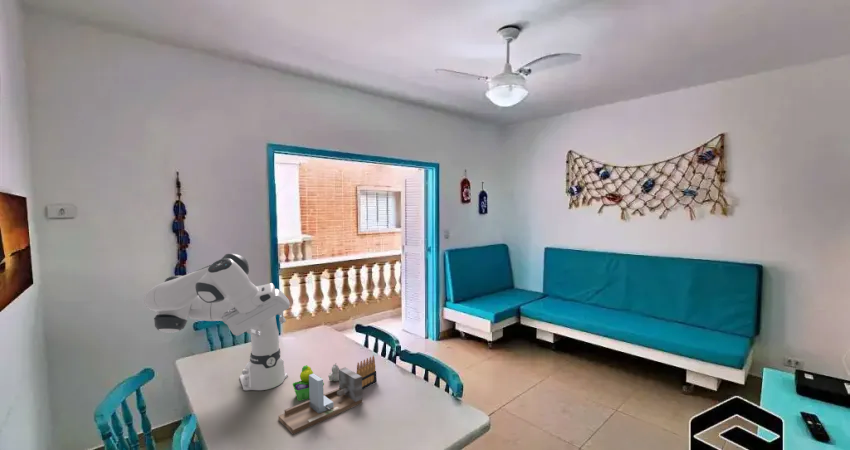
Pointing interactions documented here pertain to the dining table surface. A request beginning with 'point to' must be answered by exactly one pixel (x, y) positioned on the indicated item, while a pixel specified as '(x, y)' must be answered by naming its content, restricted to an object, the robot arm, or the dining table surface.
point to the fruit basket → (303, 384)
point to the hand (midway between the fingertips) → (271, 328)
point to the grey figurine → (334, 373)
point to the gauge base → (341, 397)
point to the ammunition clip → (367, 372)
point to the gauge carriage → (318, 395)
